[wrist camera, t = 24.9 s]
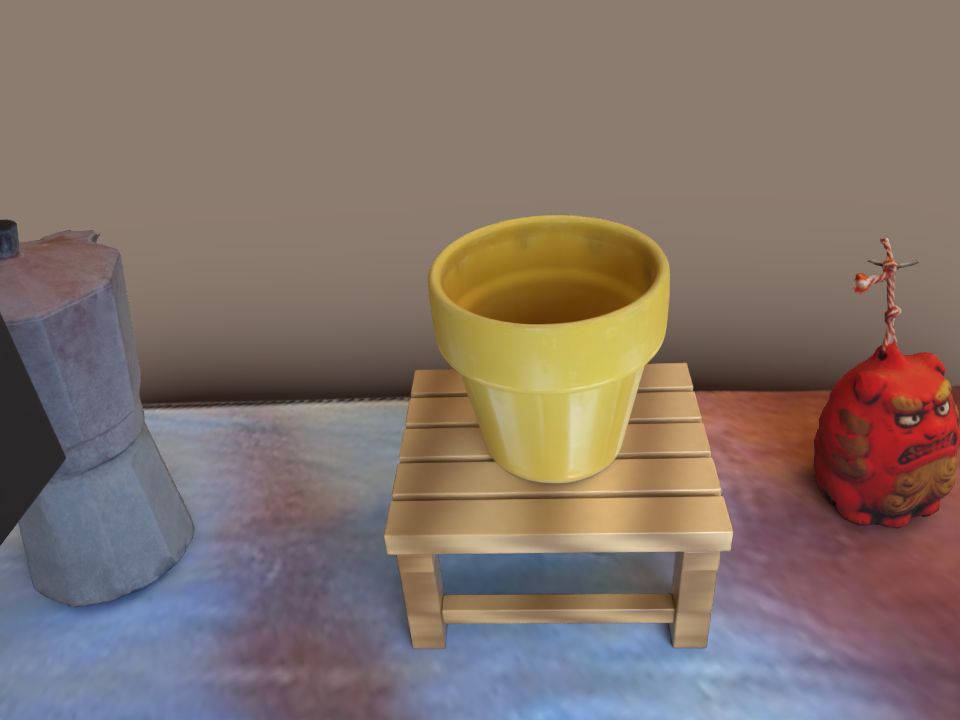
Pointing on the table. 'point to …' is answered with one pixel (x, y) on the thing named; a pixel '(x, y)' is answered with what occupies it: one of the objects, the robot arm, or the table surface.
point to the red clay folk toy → (888, 429)
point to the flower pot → (551, 336)
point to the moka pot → (88, 423)
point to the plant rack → (558, 512)
